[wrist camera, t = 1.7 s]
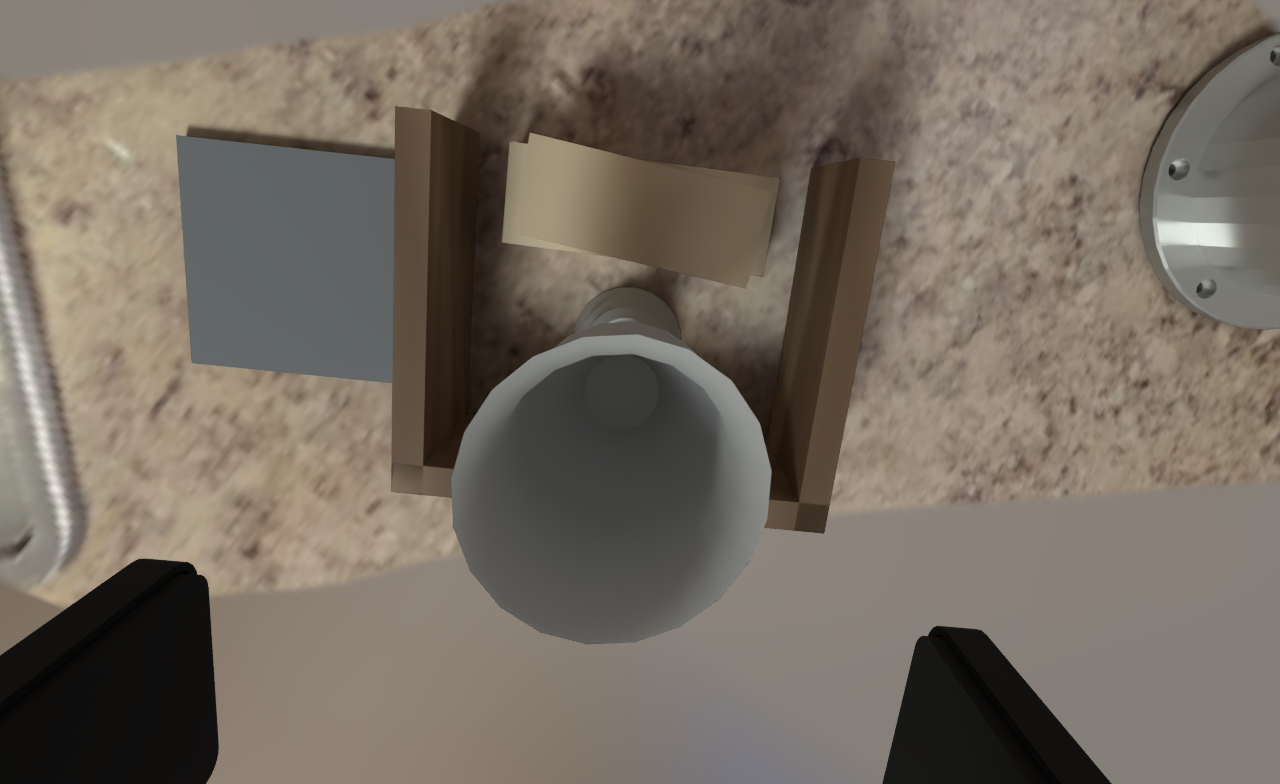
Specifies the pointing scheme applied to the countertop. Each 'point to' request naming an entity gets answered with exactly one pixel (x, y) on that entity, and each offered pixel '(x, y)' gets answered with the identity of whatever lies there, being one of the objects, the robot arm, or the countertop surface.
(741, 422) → the chalice
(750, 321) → the countertop surface
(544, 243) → the offcut lower
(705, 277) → the offcut upper
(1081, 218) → the countertop surface
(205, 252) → the slate tile
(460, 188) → the brown wooden u-shaped frame
